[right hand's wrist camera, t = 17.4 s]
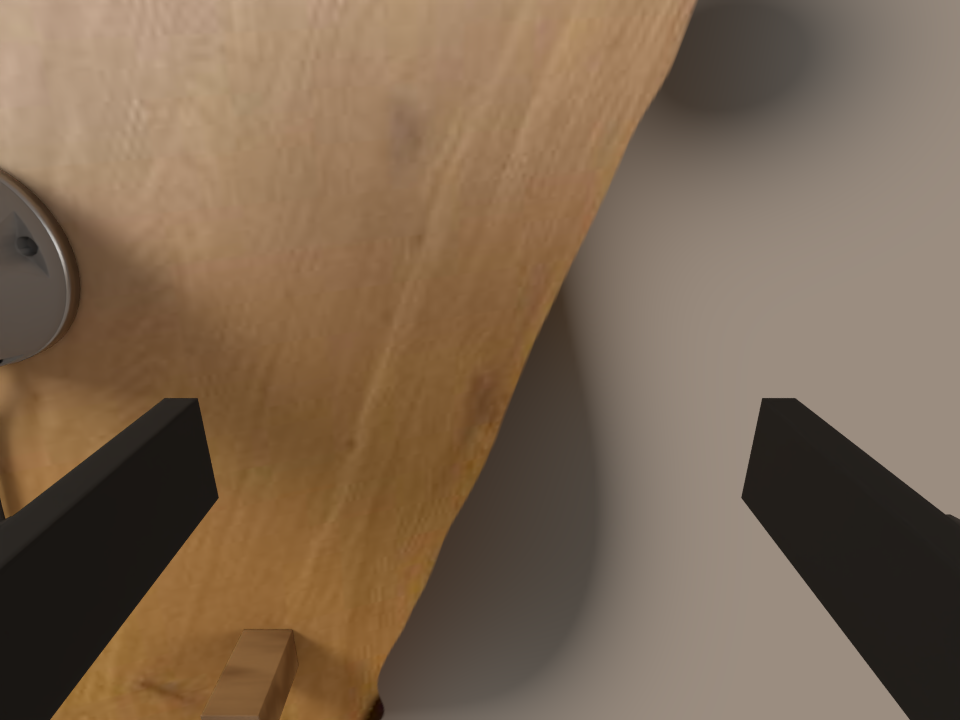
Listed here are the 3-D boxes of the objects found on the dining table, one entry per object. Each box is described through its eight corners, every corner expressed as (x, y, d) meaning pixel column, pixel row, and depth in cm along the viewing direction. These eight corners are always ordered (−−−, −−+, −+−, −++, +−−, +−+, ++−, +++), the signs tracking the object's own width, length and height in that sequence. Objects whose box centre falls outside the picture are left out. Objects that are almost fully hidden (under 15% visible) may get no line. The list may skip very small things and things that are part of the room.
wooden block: (298, 665, 54) (266, 755, 46) (250, 665, 54) (210, 755, 46) (292, 629, 52) (258, 715, 44) (243, 629, 52) (200, 715, 44)
